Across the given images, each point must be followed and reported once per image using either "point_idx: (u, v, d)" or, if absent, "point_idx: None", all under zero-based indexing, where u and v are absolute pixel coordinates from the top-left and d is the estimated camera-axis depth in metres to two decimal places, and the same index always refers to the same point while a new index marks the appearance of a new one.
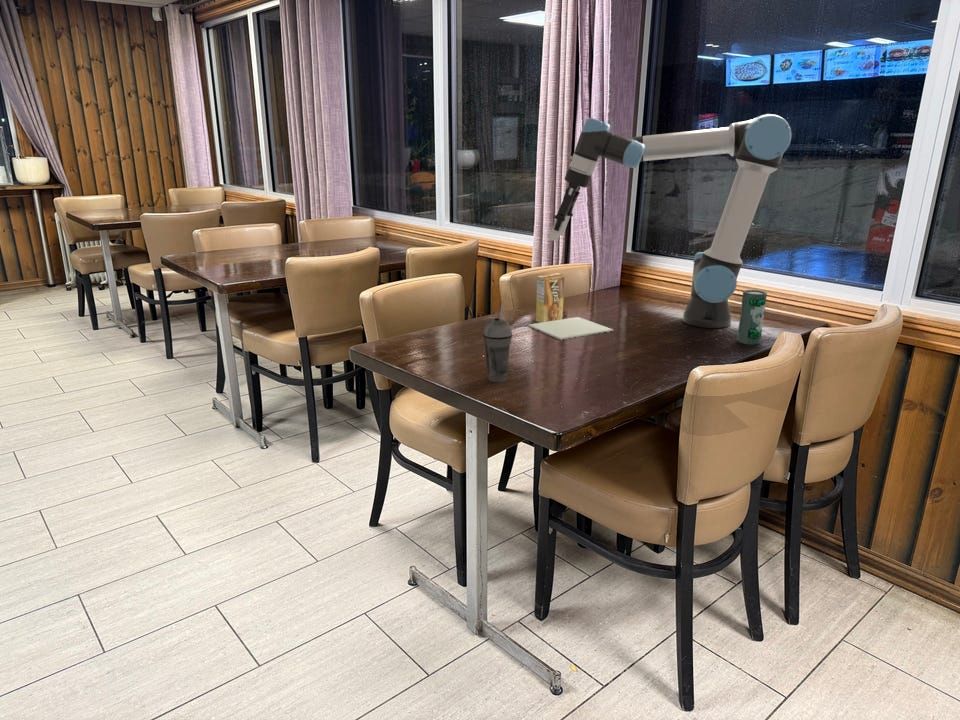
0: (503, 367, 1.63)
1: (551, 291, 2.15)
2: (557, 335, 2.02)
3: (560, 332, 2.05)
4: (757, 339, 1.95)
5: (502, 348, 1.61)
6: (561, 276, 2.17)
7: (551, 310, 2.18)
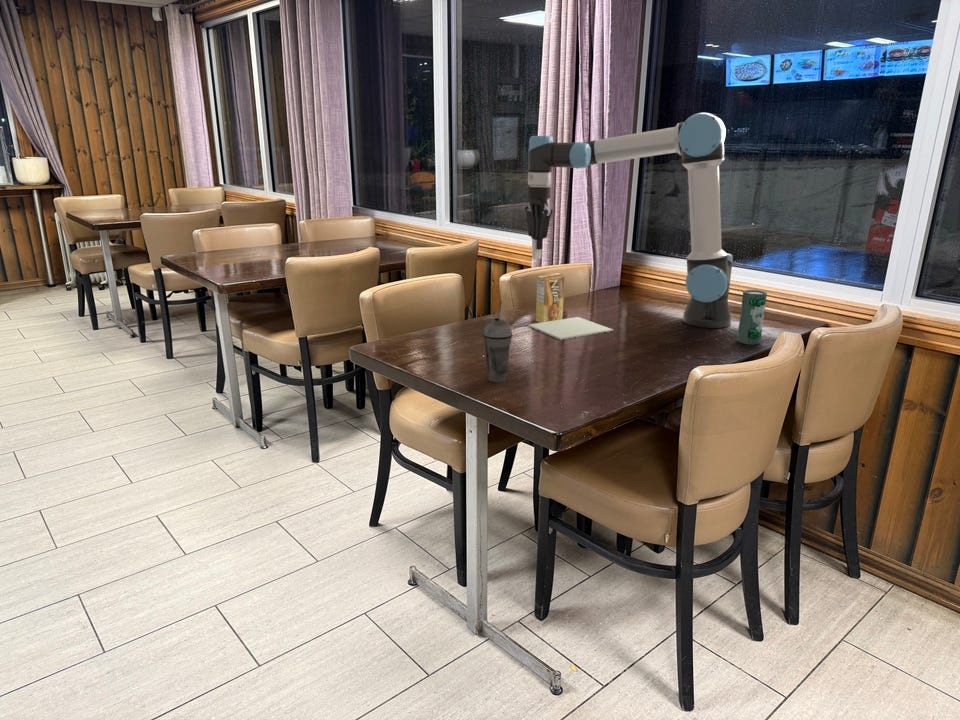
0: (503, 367, 1.63)
1: (551, 291, 2.15)
2: (557, 335, 2.02)
3: (560, 332, 2.05)
4: (757, 339, 1.95)
5: (502, 348, 1.61)
6: (561, 276, 2.17)
7: (551, 310, 2.18)
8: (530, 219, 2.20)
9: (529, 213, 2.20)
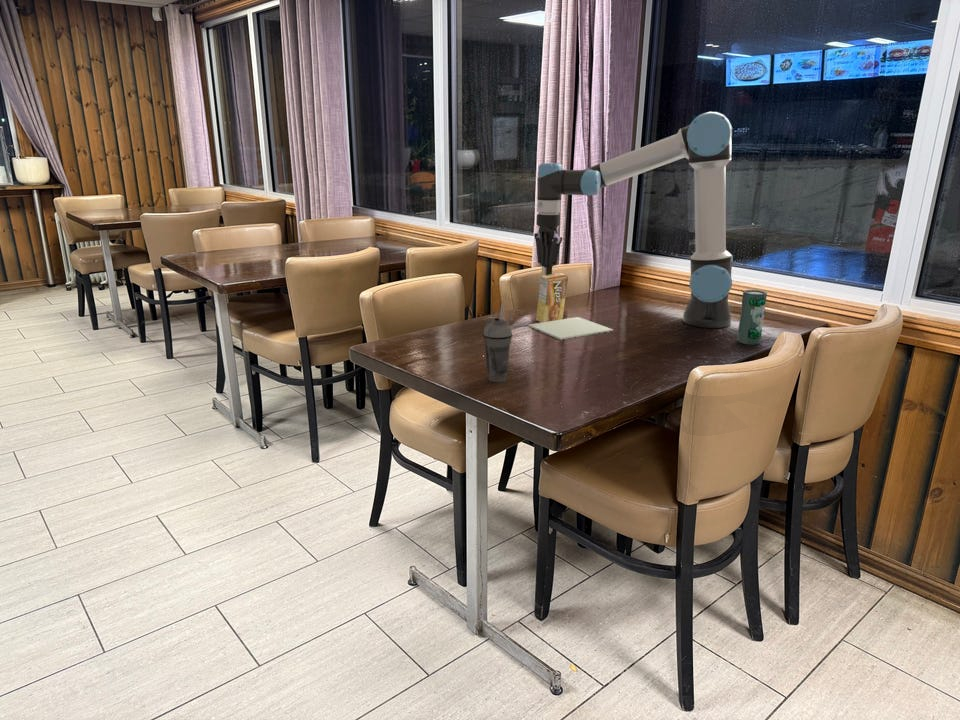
0: (503, 367, 1.63)
1: (553, 292, 2.14)
2: (557, 335, 2.02)
3: (560, 332, 2.05)
4: (757, 339, 1.95)
5: (502, 348, 1.61)
6: (565, 277, 2.15)
7: (552, 310, 2.17)
8: (539, 246, 2.18)
9: (538, 240, 2.18)
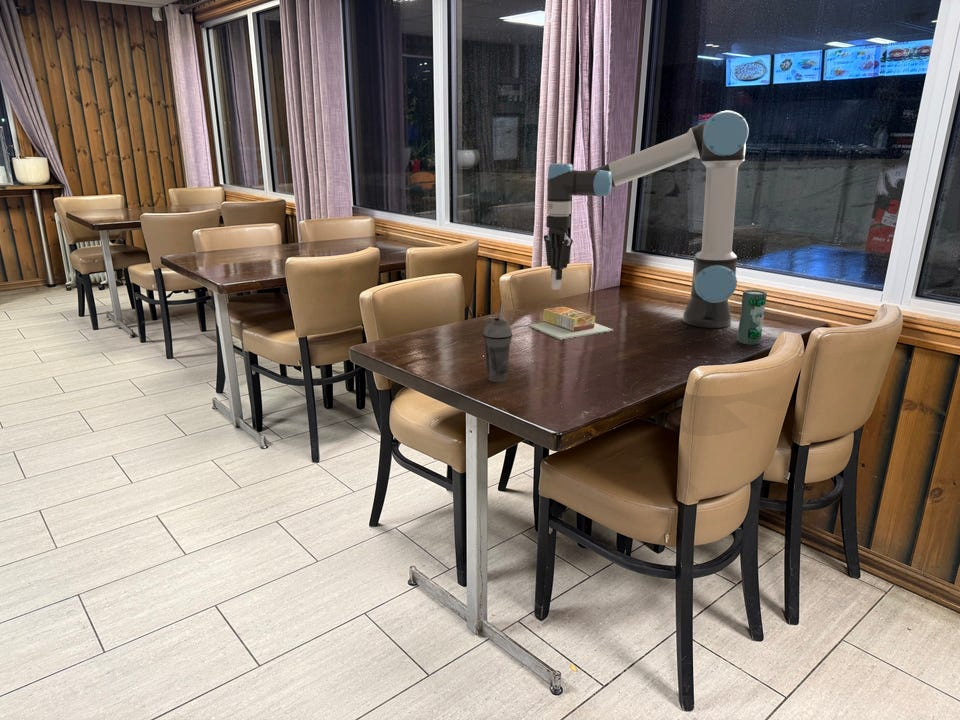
0: (503, 367, 1.63)
1: None
2: (557, 335, 2.02)
3: (560, 332, 2.05)
4: (757, 339, 1.95)
5: (502, 348, 1.61)
6: (590, 327, 2.09)
7: None
8: (549, 248, 2.14)
9: (548, 242, 2.13)
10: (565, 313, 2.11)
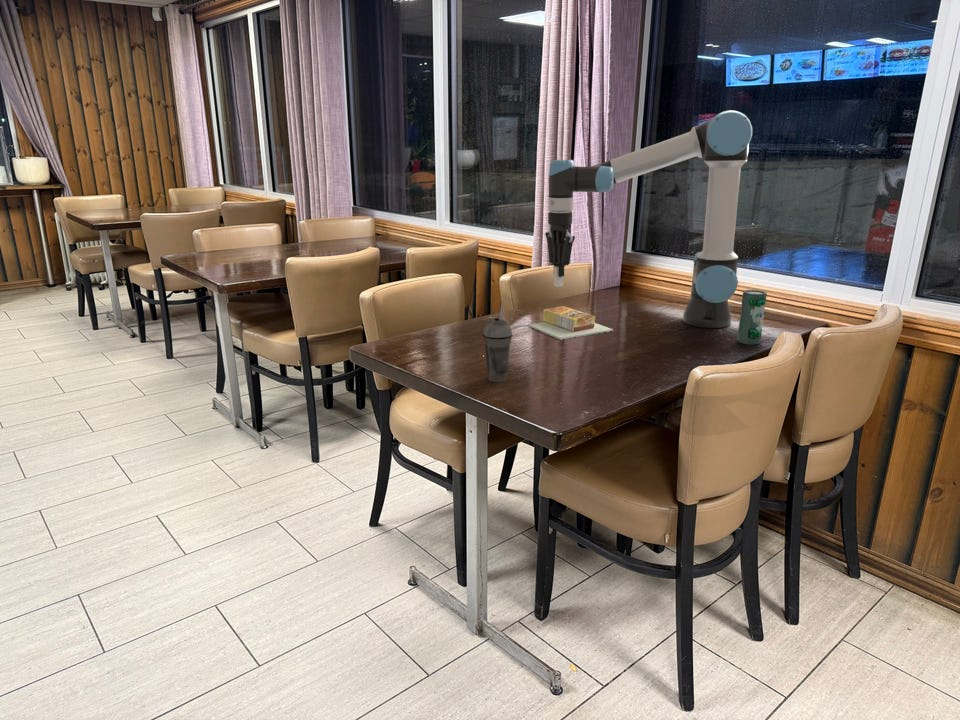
0: (503, 367, 1.63)
1: None
2: (557, 335, 2.02)
3: (560, 332, 2.05)
4: (757, 339, 1.95)
5: (502, 348, 1.61)
6: (590, 327, 2.09)
7: None
8: (551, 245, 2.13)
9: (550, 239, 2.12)
10: (565, 313, 2.11)
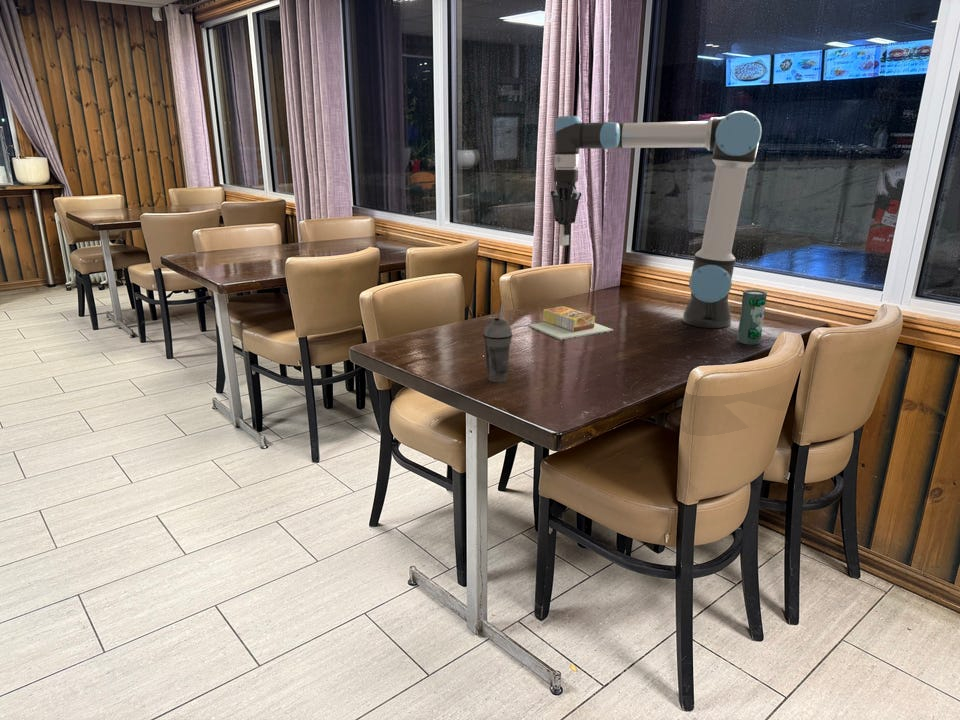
0: (503, 367, 1.63)
1: None
2: (557, 335, 2.02)
3: (560, 332, 2.05)
4: (757, 339, 1.95)
5: (502, 348, 1.61)
6: (590, 327, 2.09)
7: None
8: (556, 204, 2.13)
9: (555, 198, 2.12)
10: (565, 313, 2.11)
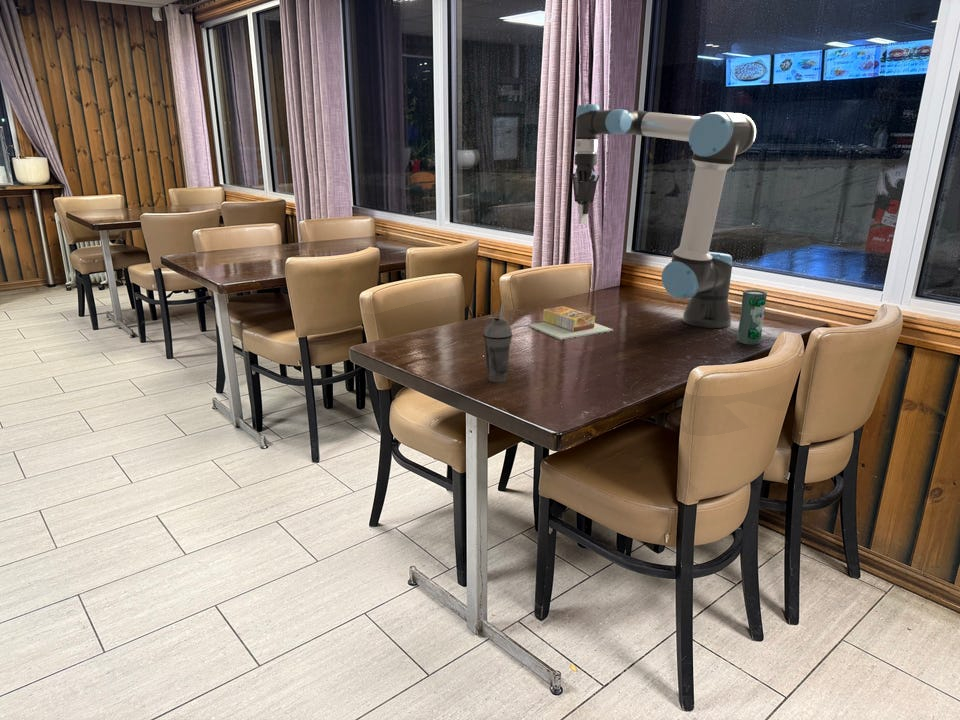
0: (503, 367, 1.63)
1: None
2: (557, 335, 2.02)
3: (560, 332, 2.05)
4: (757, 339, 1.95)
5: (502, 348, 1.61)
6: (590, 327, 2.09)
7: None
8: (576, 185, 2.31)
9: (575, 180, 2.31)
10: (565, 313, 2.11)
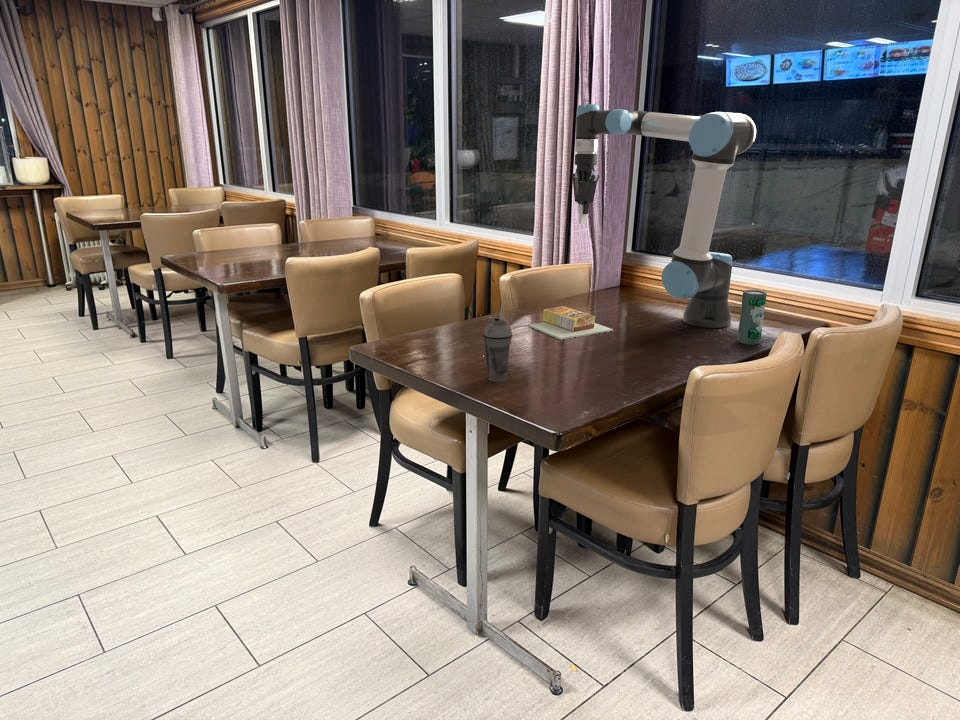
0: (503, 367, 1.63)
1: None
2: (557, 335, 2.02)
3: (560, 332, 2.05)
4: (757, 339, 1.95)
5: (502, 348, 1.61)
6: (590, 327, 2.09)
7: None
8: (576, 185, 2.32)
9: (575, 180, 2.31)
10: (565, 313, 2.11)
